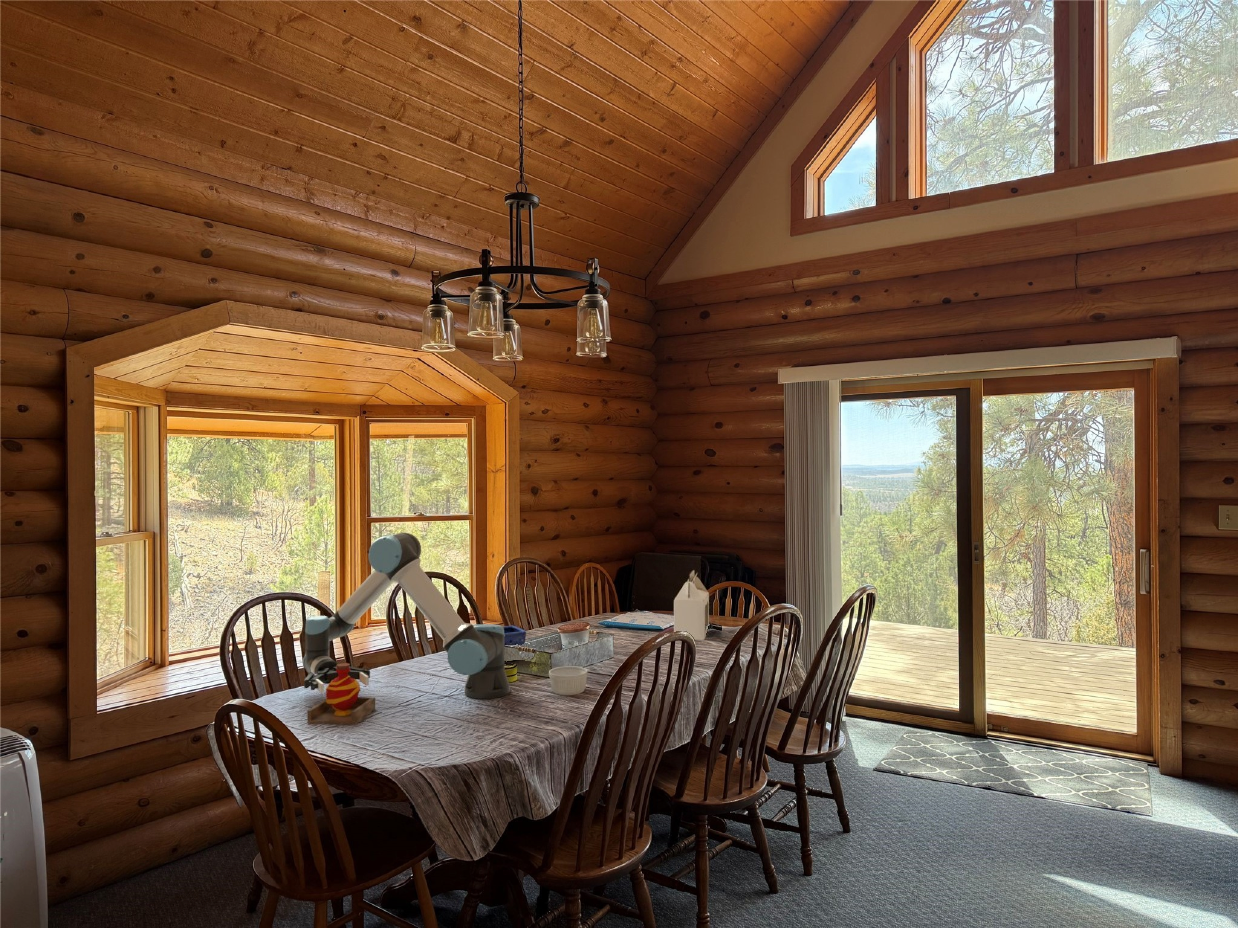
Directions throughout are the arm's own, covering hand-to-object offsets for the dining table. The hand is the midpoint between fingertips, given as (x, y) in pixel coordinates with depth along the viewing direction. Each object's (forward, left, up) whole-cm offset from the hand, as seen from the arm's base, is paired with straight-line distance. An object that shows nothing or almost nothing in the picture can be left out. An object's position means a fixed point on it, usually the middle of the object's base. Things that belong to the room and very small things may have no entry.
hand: (345, 684), depth 252 cm
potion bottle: (+2, -3, -10) cm, 10 cm away
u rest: (+2, -2, -10) cm, 11 cm away
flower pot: (-31, -76, -11) cm, 83 cm away
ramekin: (-63, -36, -11) cm, 74 cm away
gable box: (-104, -130, -11) cm, 166 cm away
